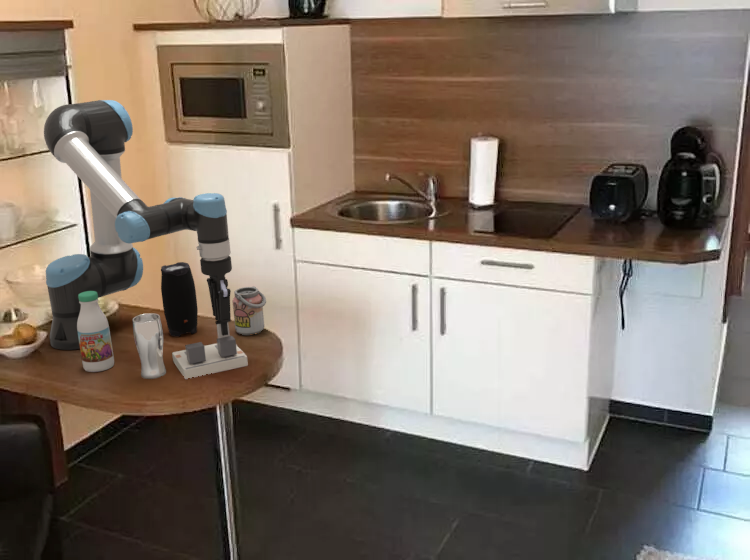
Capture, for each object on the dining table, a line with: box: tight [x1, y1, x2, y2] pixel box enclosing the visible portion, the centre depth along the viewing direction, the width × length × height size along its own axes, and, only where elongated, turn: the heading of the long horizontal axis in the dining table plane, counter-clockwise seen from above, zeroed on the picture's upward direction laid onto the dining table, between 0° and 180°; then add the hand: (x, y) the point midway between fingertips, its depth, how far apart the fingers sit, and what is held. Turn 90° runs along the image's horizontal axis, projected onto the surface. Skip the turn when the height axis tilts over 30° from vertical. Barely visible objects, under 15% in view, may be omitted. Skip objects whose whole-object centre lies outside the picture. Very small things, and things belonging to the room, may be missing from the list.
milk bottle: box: [77, 291, 115, 373], centre depth 211 cm, size 8×8×20 cm
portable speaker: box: [160, 261, 198, 338], centre depth 232 cm, size 9×9×20 cm
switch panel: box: [171, 342, 249, 380], centre depth 212 cm, size 13×16×3 cm
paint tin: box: [232, 285, 267, 336], centre depth 232 cm, size 9×8×12 cm
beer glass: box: [132, 312, 167, 380], centre depth 206 cm, size 7×7×15 cm
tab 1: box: [184, 341, 206, 364], centre depth 207 cm, size 3×4×4 cm
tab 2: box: [216, 335, 237, 357], centre depth 210 cm, size 3×4×4 cm
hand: (224, 345), depth 212 cm, fingers closed
